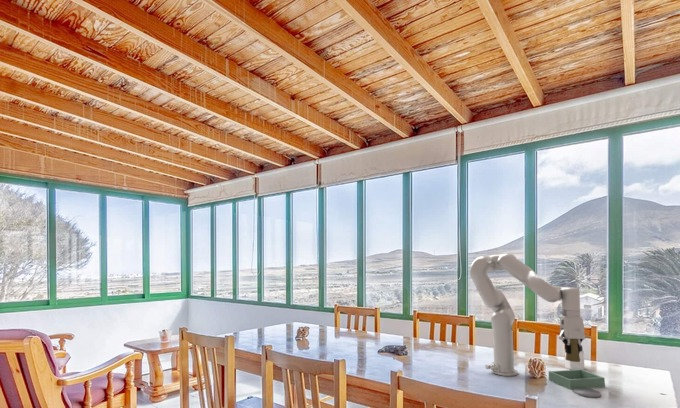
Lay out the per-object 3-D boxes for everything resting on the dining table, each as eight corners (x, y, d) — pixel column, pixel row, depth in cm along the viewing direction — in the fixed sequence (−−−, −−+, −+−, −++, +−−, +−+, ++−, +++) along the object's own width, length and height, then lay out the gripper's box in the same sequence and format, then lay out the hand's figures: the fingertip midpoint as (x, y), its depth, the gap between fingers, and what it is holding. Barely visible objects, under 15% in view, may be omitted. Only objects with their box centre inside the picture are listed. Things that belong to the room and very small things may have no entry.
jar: (578, 371, 211) (576, 347, 213) (562, 367, 218) (561, 344, 219) (587, 368, 216) (585, 345, 217) (571, 365, 223) (570, 342, 224)
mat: (586, 398, 172) (586, 396, 172) (568, 390, 182) (568, 388, 182) (606, 397, 174) (606, 394, 174) (588, 389, 184) (588, 387, 184)
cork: (566, 357, 198) (565, 334, 199) (580, 359, 195) (580, 335, 196) (564, 360, 193) (564, 336, 194) (579, 362, 190) (578, 338, 191)
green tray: (570, 389, 184) (569, 380, 184) (548, 380, 197) (548, 371, 198) (605, 386, 187) (604, 377, 187) (581, 377, 201) (581, 369, 201)
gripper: (561, 315, 191) (562, 355, 189) (592, 314, 194) (594, 354, 192) (550, 312, 198) (551, 351, 196) (580, 312, 201) (581, 350, 199)
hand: (572, 352), depth 194 cm, fingers closed on cork, 3 cm apart
